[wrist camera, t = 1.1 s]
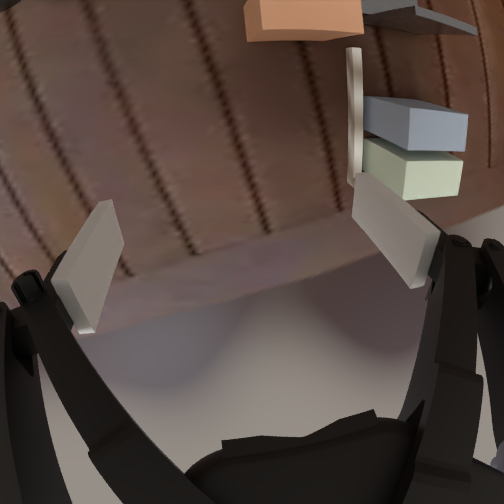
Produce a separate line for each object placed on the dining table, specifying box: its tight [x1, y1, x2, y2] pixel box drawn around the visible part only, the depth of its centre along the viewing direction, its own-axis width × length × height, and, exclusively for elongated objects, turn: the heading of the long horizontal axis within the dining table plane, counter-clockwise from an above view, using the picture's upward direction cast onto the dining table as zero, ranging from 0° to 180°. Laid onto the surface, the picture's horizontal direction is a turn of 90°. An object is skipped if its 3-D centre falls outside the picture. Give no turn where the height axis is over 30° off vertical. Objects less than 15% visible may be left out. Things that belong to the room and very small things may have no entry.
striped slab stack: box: [346, 47, 363, 189], centre depth 31 cm, size 18×12×7 cm, turn 5°
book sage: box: [363, 138, 463, 200], centre depth 33 cm, size 4×9×10 cm, turn 95°
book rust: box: [243, 0, 364, 42], centre depth 22 cm, size 4×9×10 cm, turn 95°
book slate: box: [364, 96, 468, 151], centre depth 30 cm, size 4×9×10 cm, turn 95°
